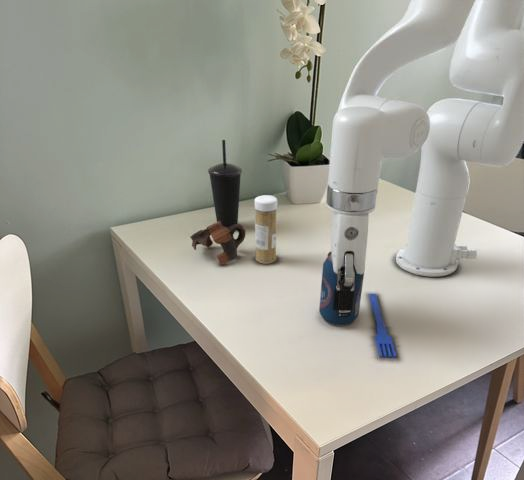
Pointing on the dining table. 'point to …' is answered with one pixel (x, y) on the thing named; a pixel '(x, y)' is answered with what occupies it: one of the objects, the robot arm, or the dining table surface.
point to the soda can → (328, 294)
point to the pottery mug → (220, 239)
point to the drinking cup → (225, 190)
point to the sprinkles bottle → (265, 228)
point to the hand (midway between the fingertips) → (340, 296)
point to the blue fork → (381, 330)
